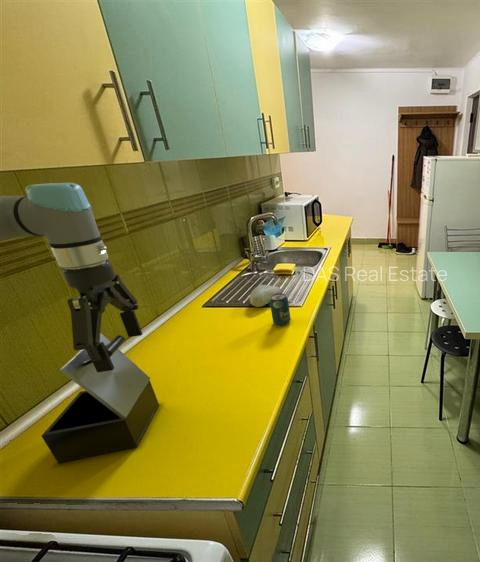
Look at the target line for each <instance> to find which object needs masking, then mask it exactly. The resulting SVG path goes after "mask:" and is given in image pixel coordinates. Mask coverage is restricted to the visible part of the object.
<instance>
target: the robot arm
mask: <svg viewBox="0 0 480 562" xmlns="http://www.w3.org/2000/svg"><path fill="white" fill-rule="evenodd" d="M25 193H26V195H0V243H1V242H5V241H8V240H12V239H18V238H27V237H45V238H46V239H47V242H48V244H49V247H50V249H51V251H52V253H53V256H54V258H55V260H56V263H57V265H58V267H60V268H62V270H61V274H62V275H63V278H64V280H65V282H66V284H67V287H70V288H73V289H75V290H77V291H78V292H77V293H78V297H74V298H73V297H72V298H69V299H67V304H68V308H69V311H70V319H71V320H70V321H71V333H72V343H73V346H72V347H73V350H74V351H80V350H83V349H86V351H87V353H88V355H89V357H90V359H91V361H92V362H93V364H94V366H95V368H96V371H97V373H98V372H104V371H111V370H113V369H114V366H113V363H112V361H111V359H110V357H109V354H108V352H107V350H106V347H105V345H104V343H103V342H100V333H101V327H102V317H103V313H105V312H106V307H107V306H108V304H109V305H111V306H113V307H114V308H116V309H117V310H119V311H120V313H119V316H120V318H121V321H122V324H123V327H124V329H125V331H126V334H127V336H128V338H133V337H140V336H142V335H143V331H142V329H141V326H140V323H139V321H138V318H137V315H136V313H135V311H137V310H139V305H138V300H137V299H136V297H135V296H134V295H133V294H132V293H131V291H130V290H129V289H128V287H127V286H126V285H125V284H124V283H123V281H122V279H121V277H120V274H118V273H117V274H116V272H115V269H114V266H113V264H112V262H111V261H110V260H108V259H109V254H108V252H107V251H108V250H107V249H108V247H107V246H106V245H105V243H104V241H103V238H102V235H101V233H100V231H99V228H98V225H97V222H96V219H95V216H94V212H93V210H92V205H91V203H90V202H89V200H88V198H87V196H86V194H85V191H84V190H83V188H82V187H81V185H80V184H77V183H75V182H51V183H49V182H48V183H36V184H35V183H34V184H29V185H27V186H26V187H25Z"/></svg>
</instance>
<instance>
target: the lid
mask: <svg viewBox="0 0 480 562" xmlns="http://www.w3.org/2000/svg"><path fill="white" fill-rule="evenodd" d="M125 341H126V337H125V336H123V335H121V334H119V335H116V336H115V337H114V338H113V339H112V340H110V339H108V338H107V337H106V336H105V335H104V334H103V333H101V332H100V342H103V343H104V345H105V347H106V350H107V352H108V354H109V357H110V359H111V361H112V363H113V366H114V369H113V370H111V371H104V372H98V373H97V371H96V368H95V366H94V364H93V362H92V361H91V359H90V357H89V355H88V353H87V351H86V349H83V350H78V352H77V353H76V354H75V355H74V356H73V357H72V358H70V360H68V361H67V362H66V363H65V364H64V365H63V366H62V367H61V368H60V369H59V371H60V372H61V373H62V374H64V375H65V376H67V377H68V378H69V379H70V380H71V381H73V382H74V383H75V384H76V385H78V386H79V387H80V388H81V389H82V390H83V391H87V392H88V393H89V394H91V395H92V396H93V397H95V398H96V399H97V400H98V401H100V402H101V403H102V404H104V405H105V406H106V407H107V408H109V409H110V410H111V411H113V412H114V413H115V414H116V415H118V416H119V417H120V418H122V419H124V418H126V417H127V415H128V414H129V412H130V410H131V409H132V407H133V406H134V404H135V402H136V401H137V399H138V397H139V396H140V394H141V393H142V391H143V389H144V388H145V386H146V385H147V383H148V381H149V380H150V381H151V377H150V376H149V375H148V374H146V372H144V371H143V370H142V369H141V368H140V367H139V366H138V365H137V364H136V363H135V362H133V360H132V359H130V358H129V357H128V356H127V355H126V354H124V353H123V351H122V350H121V349H119V348H120V347H121V346H122V345H123V343H124V342H125Z"/></svg>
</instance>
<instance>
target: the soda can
mask: <svg viewBox="0 0 480 562" xmlns="http://www.w3.org/2000/svg"><path fill="white" fill-rule="evenodd" d="M269 306H270V312H271V318H272V322H273V324H274V325H275V326H276V327H285V326H287V325H289V324H290V322H291V319H292V318H291V313H290V304H289V298H288V297H287V294H285V293H282V292H279V294H275V295H272V296H271V300H270V303H269Z"/></svg>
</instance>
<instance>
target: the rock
mask: <svg viewBox="0 0 480 562" xmlns="http://www.w3.org/2000/svg"><path fill="white" fill-rule="evenodd" d="M281 290H282V289H281V288H280V286H276V285H270V284H261V285H257V286H256V287H255V288H253V290H252V291H251V292H250V294H249V302H250V304H251V305H252V306H253V307H256V308H260V307H264V306H267V305H268V304H269V305H270V300H271V296H272V295H275V294H280V293H281ZM266 304H267V305H266Z"/></svg>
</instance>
